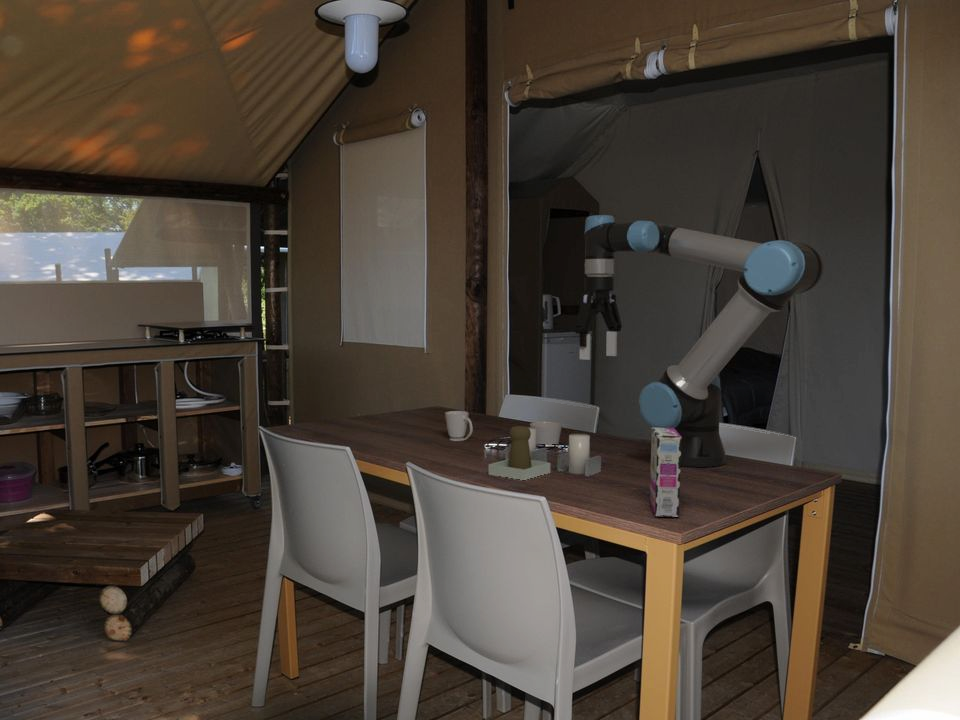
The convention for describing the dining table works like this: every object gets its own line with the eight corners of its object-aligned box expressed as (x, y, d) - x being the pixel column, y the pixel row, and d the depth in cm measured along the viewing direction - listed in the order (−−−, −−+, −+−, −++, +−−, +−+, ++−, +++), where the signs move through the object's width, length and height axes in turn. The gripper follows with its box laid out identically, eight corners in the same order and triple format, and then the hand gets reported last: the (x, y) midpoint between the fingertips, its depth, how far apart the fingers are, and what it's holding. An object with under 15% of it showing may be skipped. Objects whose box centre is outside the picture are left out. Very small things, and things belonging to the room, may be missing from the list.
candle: (561, 443, 245) (561, 422, 245) (561, 449, 236) (561, 427, 236) (530, 443, 246) (530, 421, 246) (529, 449, 237) (529, 426, 237)
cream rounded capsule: (539, 462, 219) (539, 428, 218) (528, 466, 215) (528, 430, 214) (523, 460, 222) (524, 426, 221) (512, 463, 218) (512, 428, 217)
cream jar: (593, 471, 209) (593, 435, 208) (582, 474, 205) (582, 438, 204) (575, 468, 212) (576, 433, 211) (564, 472, 208) (565, 435, 207)
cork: (515, 475, 203) (515, 429, 202) (503, 470, 208) (503, 425, 207) (537, 472, 205) (537, 427, 204) (524, 467, 211) (524, 423, 210)
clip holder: (600, 472, 208) (601, 455, 208) (587, 476, 204) (588, 459, 203) (519, 459, 224) (519, 444, 223) (505, 462, 219) (505, 447, 219)
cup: (457, 436, 257) (457, 410, 256) (480, 441, 250) (480, 413, 249) (440, 439, 252) (440, 412, 251) (462, 444, 245) (462, 416, 244)
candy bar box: (680, 519, 167) (682, 436, 165) (654, 518, 167) (656, 436, 166) (673, 504, 178) (674, 426, 176) (649, 503, 178) (650, 426, 177)
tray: (550, 473, 207) (550, 462, 207) (524, 480, 199) (524, 470, 199) (515, 467, 214) (515, 457, 214) (488, 474, 206) (488, 464, 205)
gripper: (610, 276, 233) (609, 353, 234) (560, 275, 213) (560, 360, 215) (635, 276, 228) (634, 355, 230) (586, 275, 208) (585, 361, 210)
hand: (598, 357), depth 222 cm, fingers open, 13 cm apart
